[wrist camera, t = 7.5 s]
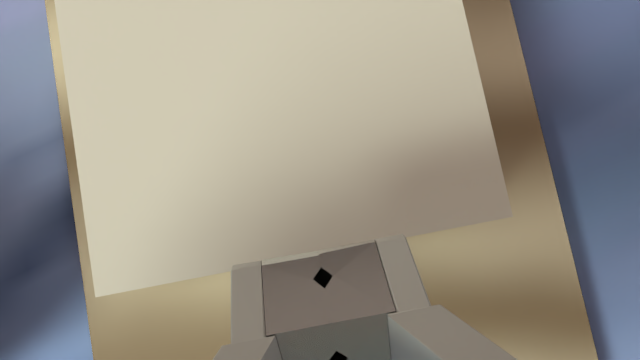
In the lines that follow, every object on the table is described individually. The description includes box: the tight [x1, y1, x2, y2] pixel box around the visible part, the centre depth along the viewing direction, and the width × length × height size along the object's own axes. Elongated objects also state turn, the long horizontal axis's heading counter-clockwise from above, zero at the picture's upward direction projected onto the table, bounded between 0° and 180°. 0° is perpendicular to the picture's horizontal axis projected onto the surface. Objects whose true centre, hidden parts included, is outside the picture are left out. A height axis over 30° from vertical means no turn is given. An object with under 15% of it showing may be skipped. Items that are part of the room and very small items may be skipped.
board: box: [45, 0, 598, 360], centre depth 18 cm, size 20×15×1 cm
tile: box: [54, 0, 513, 297], centre depth 16 cm, size 4×10×10 cm
